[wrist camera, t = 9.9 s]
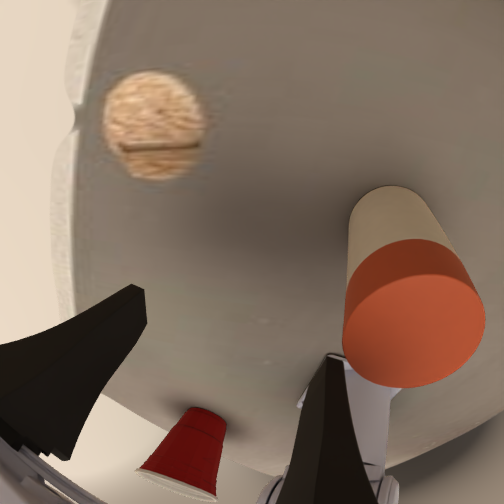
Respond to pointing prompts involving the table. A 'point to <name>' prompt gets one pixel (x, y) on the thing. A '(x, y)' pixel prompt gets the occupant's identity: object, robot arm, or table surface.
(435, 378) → the container
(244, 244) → the table surface
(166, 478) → the plastic cup
